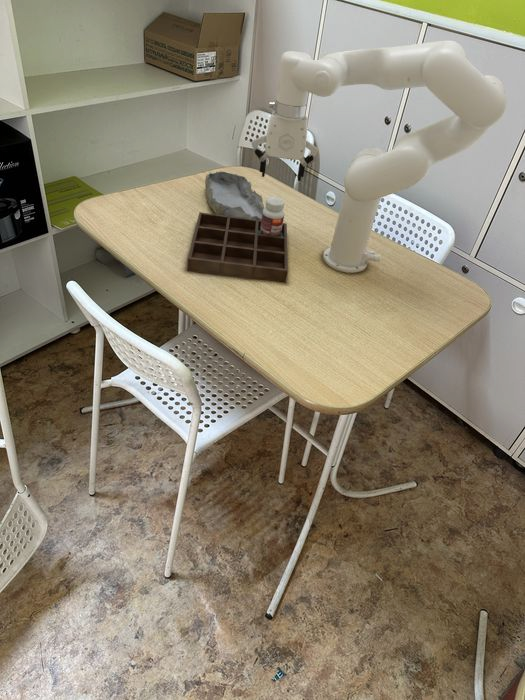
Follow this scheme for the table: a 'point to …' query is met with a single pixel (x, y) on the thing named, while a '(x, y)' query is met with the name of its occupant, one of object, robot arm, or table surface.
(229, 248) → the grid board
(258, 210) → the stone
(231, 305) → the table surface
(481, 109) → the robot arm
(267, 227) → the pill bottle
